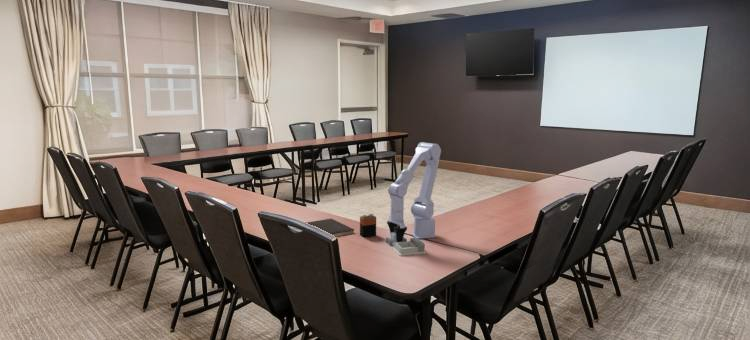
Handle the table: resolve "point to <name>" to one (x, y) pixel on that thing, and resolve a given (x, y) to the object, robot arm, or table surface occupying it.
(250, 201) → the table surface
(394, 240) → the plug
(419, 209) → the robot arm
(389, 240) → the holster
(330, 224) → the hardcover book
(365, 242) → the table surface
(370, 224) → the battery
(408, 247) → the port
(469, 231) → the table surface
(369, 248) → the table surface
